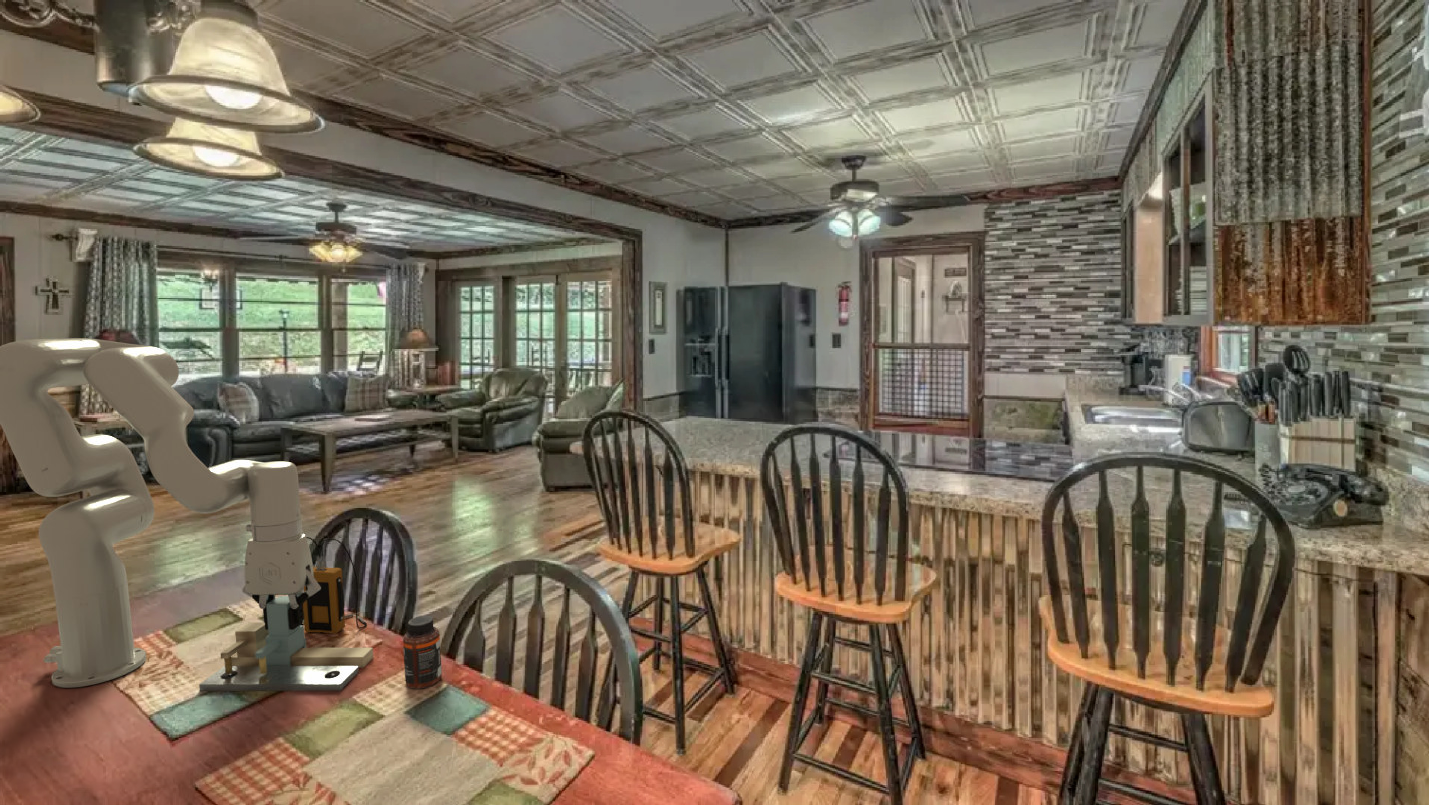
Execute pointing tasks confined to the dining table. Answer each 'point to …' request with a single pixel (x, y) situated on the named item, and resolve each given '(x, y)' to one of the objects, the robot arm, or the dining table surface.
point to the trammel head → (280, 636)
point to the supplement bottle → (422, 653)
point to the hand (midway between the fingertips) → (284, 625)
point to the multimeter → (327, 599)
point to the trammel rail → (254, 639)
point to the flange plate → (281, 678)
